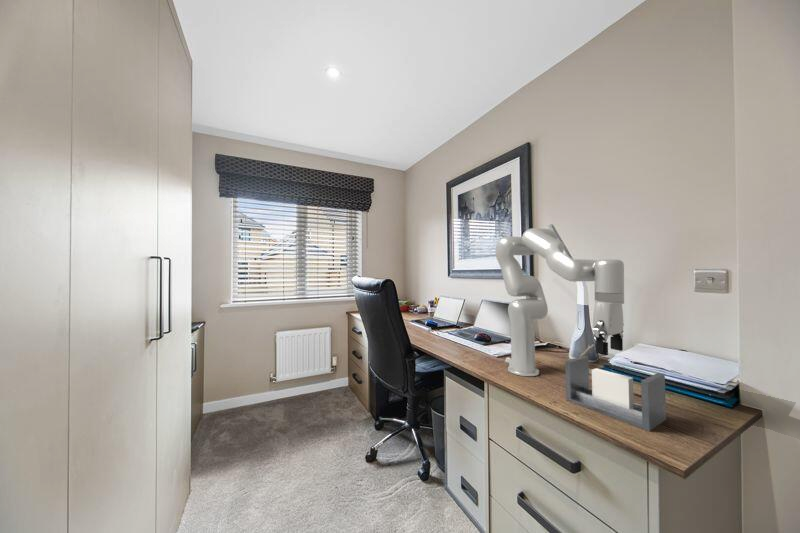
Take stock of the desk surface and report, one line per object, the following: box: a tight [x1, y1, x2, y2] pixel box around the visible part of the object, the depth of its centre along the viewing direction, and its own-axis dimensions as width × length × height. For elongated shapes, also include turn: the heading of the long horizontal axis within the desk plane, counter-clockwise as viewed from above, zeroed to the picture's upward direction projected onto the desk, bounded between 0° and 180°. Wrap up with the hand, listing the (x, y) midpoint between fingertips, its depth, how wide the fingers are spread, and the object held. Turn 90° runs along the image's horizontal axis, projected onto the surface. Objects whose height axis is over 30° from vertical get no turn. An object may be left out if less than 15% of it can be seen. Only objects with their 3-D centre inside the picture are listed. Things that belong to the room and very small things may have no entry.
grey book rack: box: [564, 355, 667, 432], centre depth 88 cm, size 22×12×13 cm, turn 30°
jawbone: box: [579, 344, 596, 375], centre depth 121 cm, size 14×8×15 cm
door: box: [591, 367, 635, 409], centre depth 88 cm, size 10×3×10 cm, turn 30°
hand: (609, 351), depth 89 cm, fingers open, 9 cm apart
